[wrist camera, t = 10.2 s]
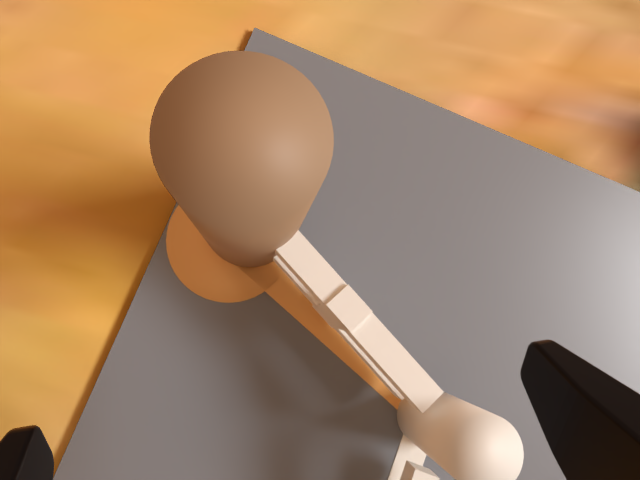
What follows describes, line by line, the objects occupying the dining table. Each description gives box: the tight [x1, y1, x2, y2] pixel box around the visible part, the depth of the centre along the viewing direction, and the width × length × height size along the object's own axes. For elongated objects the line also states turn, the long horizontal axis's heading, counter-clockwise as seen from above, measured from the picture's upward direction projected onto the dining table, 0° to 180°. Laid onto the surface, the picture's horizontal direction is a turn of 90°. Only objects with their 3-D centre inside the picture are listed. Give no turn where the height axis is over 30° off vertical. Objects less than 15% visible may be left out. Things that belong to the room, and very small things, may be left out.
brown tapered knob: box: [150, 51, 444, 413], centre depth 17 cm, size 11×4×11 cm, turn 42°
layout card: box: [53, 28, 640, 480], centre depth 23 cm, size 26×24×1 cm
